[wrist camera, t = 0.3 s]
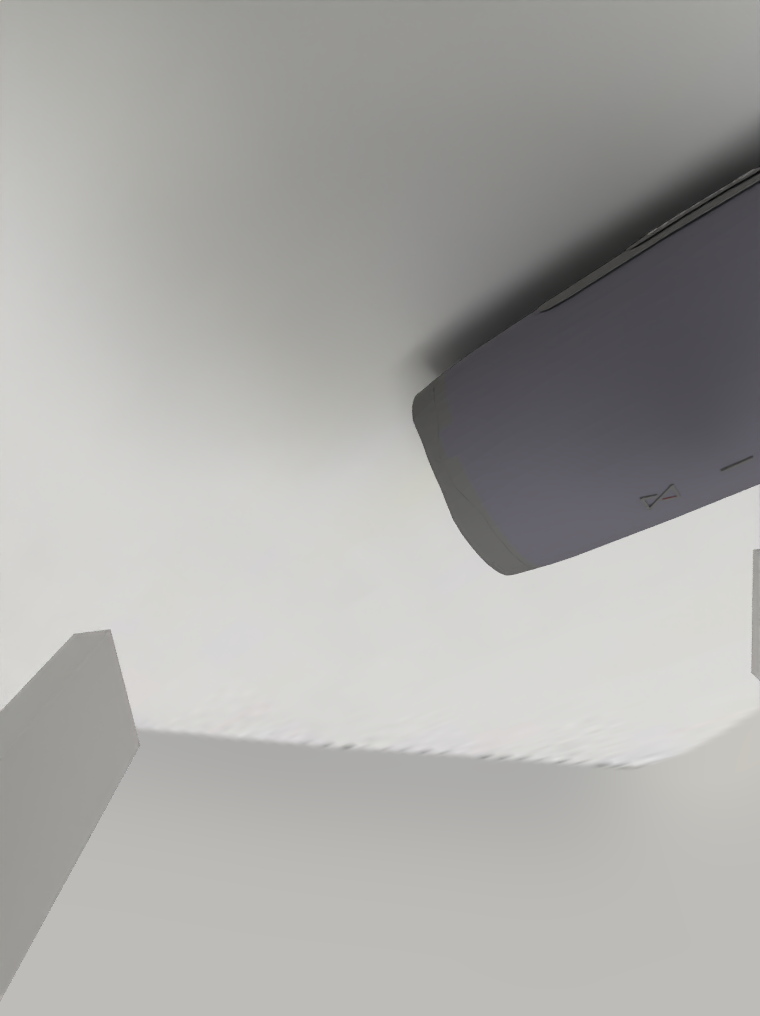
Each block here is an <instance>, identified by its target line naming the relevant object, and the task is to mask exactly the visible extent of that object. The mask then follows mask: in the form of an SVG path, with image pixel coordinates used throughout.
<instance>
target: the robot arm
mask: <svg viewBox="0 0 760 1016" xmlns="http://www.w3.org/2000/svg"><path fill="white" fill-rule="evenodd" d="M751 673H752V674H753V675H754V676H755V677H756V678H758V679H759V680H760V549H756V550H753V597H752V664H751ZM139 746H140V743H139V739H138V735H137V731H136V727H135V723H134V719H133V716H132V712H131V708H130V704H129V700H128V696H127V692H126V688H125V684H124V680H123V677H122V673H121V669H120V665H119V661H118V657H117V653H116V649H115V645H114V641H113V637H112V634H111V630H102V631H94V632H86V633H78V634H73V636H72V637H71V638H70V639H69V640H68V641H67V642H66V643H65V644H64V645H63V646H62V647H61V648H60V649H59V650H58V651H57V652H56V653H55V655H54V656H53V657H52V658H51V659H50V660H49V661H48V662H47V663H46V664H45V665H44V666H43V667H42V668H41V669H40V670H39V671H38V672H37V674H36V675H35V676H34V677H33V678H32V679H31V680H30V681H29V682H28V683H27V684H26V685H25V686H24V687H23V688H22V689H21V690H20V692H19V693H18V694H17V695H16V696H15V697H14V698H13V699H12V700H11V701H10V702H9V703H8V704H7V705H6V706H5V707H4V708H3V709H2V711H1V712H0V1000H1V999H2V997H3V995H4V993H5V992H6V990H7V988H8V986H9V984H10V982H11V981H12V979H13V977H14V975H15V973H16V971H17V970H18V968H19V966H20V964H21V962H22V960H23V958H24V957H25V955H26V953H27V951H28V949H29V947H30V946H31V944H32V942H33V940H34V938H35V936H36V935H37V933H38V931H39V929H40V927H41V926H42V924H43V922H44V920H45V918H46V917H47V915H48V913H49V911H50V909H51V907H52V906H53V904H54V902H55V900H56V898H57V896H58V895H59V893H60V891H61V889H62V887H63V885H64V884H65V882H66V880H67V878H68V876H69V874H70V873H71V871H72V869H73V867H74V865H75V864H76V862H77V860H78V858H79V856H80V854H81V852H82V851H83V849H84V847H85V845H86V843H87V842H88V840H89V838H90V836H91V834H92V832H93V831H94V829H95V827H96V825H97V823H98V821H99V820H100V818H101V816H102V814H103V812H104V811H105V809H106V807H107V805H108V803H109V801H110V799H111V798H112V796H113V794H114V792H115V790H116V789H117V787H118V785H119V783H120V781H121V779H122V778H123V776H124V774H125V772H126V770H127V768H128V767H129V765H130V763H131V761H132V759H133V757H134V755H135V754H136V752H137V750H138V748H139Z"/></svg>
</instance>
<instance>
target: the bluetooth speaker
mask: <svg viewBox="0 0 760 1016" xmlns="http://www.w3.org/2000/svg"><path fill="white" fill-rule="evenodd" d="M412 415H413V421H414V424H415V427H416V429H417V431H418V433H419V436H420V438H421V441H422V443H423V446H424V449H425V452H426V454H427V457H428V460H429V463H430V465H431V468H432V470H433V472H434V475H435V477H436V479H437V481H438V483H439V486H440V488H441V490H442V493H443V495H444V498H445V500H446V503H447V506H448V508H449V510H450V513H451V515H452V518H453V520H454V522H455V524H456V525H457V527H458V528H459V530H460V532H461V533H462V535H463V536H464V537H465V539H466V540H467V541H468V543H469V544H470V545H471V547H472V548H473V549H474V550H475V551H476V553H477V554H478V555H479V556H480V557H481V558H482V559H483V560H484V561H485V562H486V563H487V564H488V565H489V566H490V567H492V568H493V569H494V570H496V571H497V572H499V573H501V574H504V575H514V574H518V573H521V572H525V571H528V570H532V569H536V568H539V567H542V566H546V565H550V564H553V563H556V562H559V561H562V560H565V559H568V558H571V557H574V556H577V555H579V554H582V553H584V552H587V551H590V550H592V549H595V548H598V547H600V546H603V545H605V544H608V543H611V542H613V541H616V540H619V539H621V538H624V537H626V536H629V535H632V534H634V533H637V532H640V531H642V530H645V529H647V528H650V527H653V526H655V525H658V524H661V523H663V522H666V521H668V520H671V519H674V518H676V517H679V516H681V515H684V514H686V513H689V512H691V511H694V510H696V509H699V508H701V507H703V506H706V505H708V504H711V503H713V502H716V501H718V500H721V499H723V498H726V497H728V496H731V495H733V494H736V493H738V492H741V491H743V490H746V489H748V488H751V487H753V486H756V485H758V484H760V167H758V168H756V169H753V170H751V171H749V172H747V173H745V174H744V175H742V176H741V177H739V178H737V180H735V181H733V182H731V183H730V184H728V185H726V186H725V187H723V188H721V189H719V190H718V191H716V192H715V193H713V194H711V195H710V196H708V197H706V198H705V199H703V200H701V201H700V202H698V203H696V204H695V205H693V206H691V207H690V208H688V209H686V210H685V211H683V212H681V213H680V214H678V215H677V216H675V217H673V218H672V219H670V220H669V221H667V222H665V223H664V224H663V225H661V226H660V227H658V228H656V229H654V230H653V231H651V232H649V233H648V234H647V235H646V236H644V237H643V238H641V239H640V240H638V241H637V242H636V243H634V244H633V245H631V246H630V247H628V248H627V249H626V250H625V252H623V253H622V254H620V255H619V256H617V257H616V258H614V259H612V260H611V261H609V262H608V263H606V264H605V265H603V266H601V267H600V268H598V269H597V270H595V271H594V272H592V273H591V274H589V275H587V276H586V277H584V278H583V279H581V280H580V281H578V282H576V283H575V284H573V285H572V286H570V287H569V288H567V289H566V290H564V291H562V292H561V293H559V294H558V295H556V296H555V297H553V298H551V299H550V300H548V301H547V302H545V303H544V304H542V305H541V306H539V308H538V309H537V310H535V311H534V312H532V313H530V314H529V315H527V316H526V317H524V318H523V319H521V320H520V321H518V322H517V323H515V324H514V325H512V326H511V327H509V328H508V329H506V330H505V331H503V332H502V333H500V334H499V335H497V336H496V337H494V338H492V339H491V340H489V341H488V342H486V343H485V344H483V345H482V346H480V347H479V348H477V349H476V350H474V351H473V352H471V353H470V354H469V355H467V356H466V357H465V358H463V359H462V360H460V361H459V362H458V363H456V364H455V365H454V366H452V367H451V368H450V369H448V370H447V371H446V372H445V373H443V374H442V375H441V376H439V377H438V378H437V379H435V380H434V381H433V382H432V383H430V384H429V385H428V386H427V387H426V388H424V389H423V390H422V391H421V392H420V393H418V394H417V395H416V396H415V398H414V401H413V406H412Z"/></svg>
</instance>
